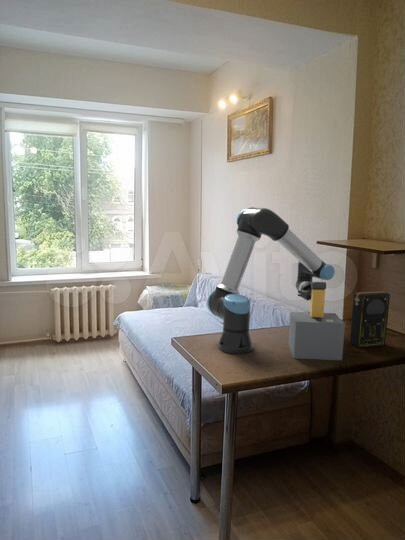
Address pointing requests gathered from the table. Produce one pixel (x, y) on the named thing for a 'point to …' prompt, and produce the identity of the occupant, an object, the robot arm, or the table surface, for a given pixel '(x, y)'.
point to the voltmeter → (369, 319)
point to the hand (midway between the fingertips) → (318, 301)
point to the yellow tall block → (317, 299)
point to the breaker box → (316, 336)
